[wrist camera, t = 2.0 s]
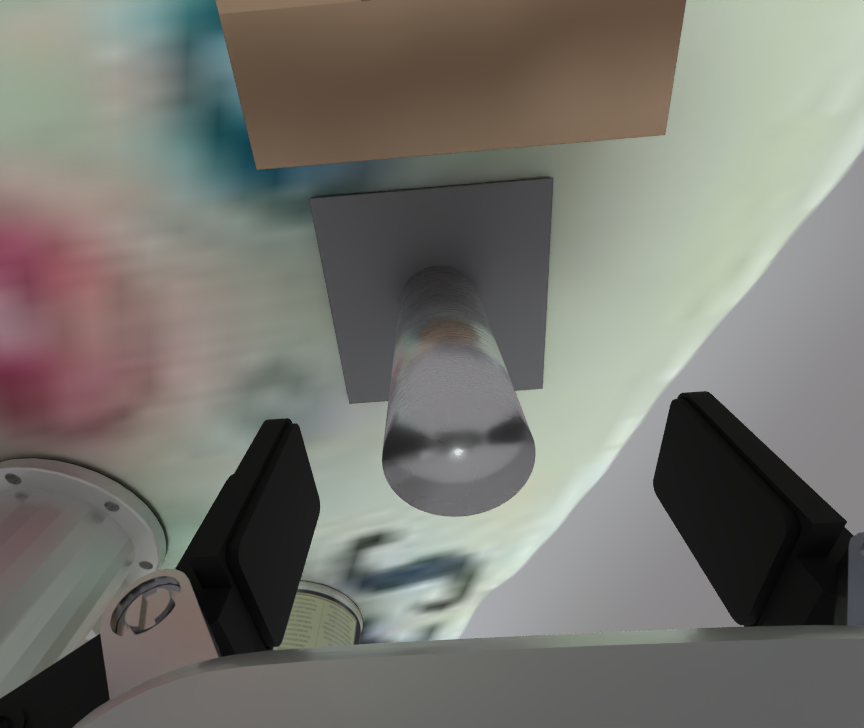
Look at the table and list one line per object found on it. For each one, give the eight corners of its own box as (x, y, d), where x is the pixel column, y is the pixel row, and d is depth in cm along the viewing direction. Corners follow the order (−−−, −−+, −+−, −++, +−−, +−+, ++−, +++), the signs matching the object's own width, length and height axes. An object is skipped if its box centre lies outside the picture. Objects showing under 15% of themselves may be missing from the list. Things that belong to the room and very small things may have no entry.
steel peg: (479, 337, 23) (532, 510, 12) (404, 343, 23) (391, 521, 12) (477, 262, 21) (538, 389, 10) (395, 268, 21) (372, 403, 10)
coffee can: (381, 644, 36) (361, 906, 24) (268, 665, 38) (194, 928, 25) (336, 566, 32) (284, 843, 19) (209, 593, 33) (81, 873, 20)
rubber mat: (539, 383, 25) (542, 388, 24) (350, 398, 25) (349, 403, 24) (549, 177, 20) (553, 178, 19) (312, 197, 20) (309, 199, 19)
